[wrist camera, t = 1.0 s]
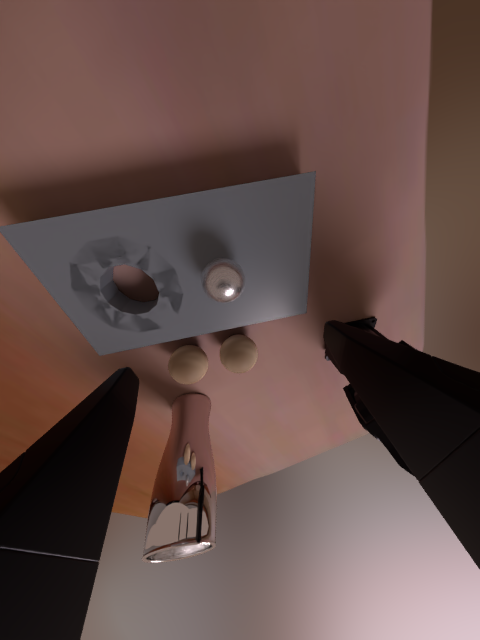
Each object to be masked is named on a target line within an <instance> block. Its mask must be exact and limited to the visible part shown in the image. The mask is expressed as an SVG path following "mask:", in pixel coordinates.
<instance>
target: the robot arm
mask: <svg viewBox="0 0 480 640" xmlns="http://www.w3.org/2000/svg"><path fill="white" fill-rule="evenodd" d="M372 320H373V321H372ZM376 321H377V319H376V318H375V317H371V318H366V319H361V320H357V321H352V322H347V323H342V322H339V321H336V320H332V321H328V322H326V323H325V326H324V341H325V342H326V350H325V354H326V355H325V359H326V360H327V361H329V360H331V362H332V363H333V364H334V365H335V367H336V368H337V369H338V371H339V372H340V373H341V374H344V375H345V377H346V378H347V380H348V381H349V383H350V384H349V385H348V386H345V387H344V388H343V389H344V391H345V393H346V396H347V398H348V400H349V402H350V404H351V406H352V408H353V410H354V412H355V414H356V416H357V418H358V420H359V422H360V424H361V425H362V426H363V428H364V429H365V430H367V431H368V432H369V433H370V434H372V435H373V436H374V437H375V438H376V439H378V440H380V441H381V442H382V443H383V444H384V446H385V447H386V448H387V449H388V451H389V452H390V454H391V455H392V456H393V458H394V459H395V460H396V462H397V463H398V464H399V465H400V466H401V467H402V468H404V469H405V470H406V471H407V472H409V473H410V474H412V475H413V476H415V477H416V479H417V480H418V481H419V483H420V485H421V486H422V487H423V489H424V490H425V492H426V493H427V495H428V496H429V497H430V499H431V500H432V501H433V503H434V505H435V506H436V507H437V509H438V510H439V512H440V513H441V515H442V516H443V518H444V519H445V520H446V522H447V523H448V525H449V526H450V528H451V529H452V530H453V532H454V533H455V535H456V536H457V538H458V539H459V541H460V542H461V543H462V545H463V546H464V548H465V549H466V551H467V552H468V553H469V554H470V556H471V558H472V559H473V561H474V562H475V563H476V565H477V566H478V568H479V569H480V372H477V371H474V370H471V369H468V368H465V367H462V366H459V365H456V364H454V363H451V362H448V361H445V360H442V359H440V358H437V357H434V356H432V357H431V355H429V354H426V353H423V352H421V351H418V350H417V349H415V348H414V347H412V346H411V345H409V344H407V343H406V342H404V341H403V340H401V341H400V342H399V343H396V342H393V341H391V340H389V339H387V338H386V337H385V336H383V335H382V334H381V333H379V332H378V331H377V330H376V329H374V327H375V324H376ZM138 389H139V379H138V377H137V376H136V375H135V373H134V372H133V371H132V369H131V368H129V367H125V368H121V369H118V370H117V371H116V372H115V373H114V374H112V375H111V376H110V377H109V378H108V379H107V380H106V381H105V382H103V383H102V384H101V385H100V386H99V387H98V388H97V389H95V390H94V391H93V392H92V393H91V394H90V395H89V396H87V397H86V398H85V399H84V400H83V401H82V402H81V403H79V404H78V405H77V406H76V407H75V408H74V409H73V410H71V411H70V412H69V413H68V414H67V415H66V416H65V417H63V418H62V419H61V420H60V421H59V422H58V423H57V424H55V425H54V426H53V427H52V428H51V429H50V430H49V431H48V432H46V433H45V434H44V435H43V436H42V437H41V438H40V439H38V440H37V441H36V442H35V443H34V444H33V445H32V446H30V447H29V448H28V449H27V450H26V452H24V453H22V454H21V455H20V456H19V457H18V458H17V459H16V460H14V461H13V462H12V463H11V464H10V465H9V466H8V467H6V468H5V469H4V470H3V471H2V472H1V473H0V640H80V638H81V634H82V630H83V625H84V622H85V617H86V614H87V610H88V605H89V601H90V597H91V593H92V589H93V585H94V581H95V577H96V573H97V569H98V565H99V562H98V561H99V560H100V556H101V552H102V548H103V544H104V540H105V536H106V532H107V528H108V523H109V519H110V515H111V511H112V507H113V503H114V499H115V495H116V491H117V487H118V483H119V479H120V475H121V471H122V467H123V462H124V458H125V454H126V450H127V446H128V442H129V438H130V434H131V430H132V426H133V422H134V417H135V411H136V404H137V397H138Z"/></svg>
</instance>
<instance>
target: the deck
mask: <svg viewBox="0 0 480 640" xmlns="http://www.w3.org/2000/svg"><path fill="white" fill-rule="evenodd" d="M315 177H316V171H314V172H309V173H303V174H297V175H292V176H286V177H280V178H274V179H269V180H263V181H257V182H252V183H246V184H240V185H235V186H229V187H223V188H217V189H212V190H206V191H200V192H195V193H189V194H183V195H178V196H172V197H166V198H160V199H155V200H149V201H143V202H138V203H132V204H126V205H121V206H115V207H109V208H103V209H98V210H92V211H86V212H81V213H75V214H69V215H64V216H58V217H52V218H46V219H41V220H35V221H29V222H24V223H18V224H12V225H7V226H1V227H0V232H1V233H2V235H3V236H4V237H5V238H6V240H7V241H8V242H9V243H10V245H11V246H12V247H13V248H14V250H15V251H16V252H17V253H18V255H19V256H20V257H21V258H22V260H23V261H24V262H25V263H26V265H27V266H28V267H29V268H30V270H31V271H32V272H33V273H34V275H35V276H36V277H37V278H38V280H39V281H40V282H41V283H42V285H43V286H44V287H45V288H46V290H47V291H48V292H49V293H50V295H51V296H52V297H53V298H54V300H55V301H56V302H57V303H58V304H59V306H60V307H61V308H62V309H63V311H64V312H65V313H66V314H67V316H68V317H69V318H70V319H71V321H72V322H73V323H74V324H75V326H76V327H77V328H78V329H79V331H80V332H81V333H82V334H83V336H84V337H85V338H86V339H87V341H88V342H89V343H90V344H91V346H92V347H93V348H94V349H95V351H96V352H97V353H98V354H99V356H101V355H106V354H111V353H116V352H120V351H125V350H130V349H135V348H140V347H145V346H149V345H154V344H159V343H164V342H169V341H174V340H178V339H183V338H188V337H193V336H198V335H203V334H208V333H212V332H217V331H222V330H227V329H232V328H237V327H241V326H246V325H251V324H256V323H261V322H266V321H270V320H275V319H280V318H285V317H290V316H295V315H300V314H304V313H306V312H307V297H308V282H309V267H310V252H311V237H312V222H313V207H314V192H315ZM217 258H228V259H231V260H233V261H235V262H236V263H238V264H239V265H240V267H241V268H242V270H243V272H244V274H245V287H244V290H243V292H242V293H241V295H240V296H239V297H238V298H237V299H235V300H234V301H231V302H228V303H219V302H216V301H213V300H212V299H210V298H209V297H208V296H207V295H206V294H205V292H204V290H203V288H202V285H201V275H202V272H203V270H204V268H205V266H206V265H207V264H208V263H209V262H211V261H212V260H214V259H217ZM123 264H125V265H129V266H132V267H135V268H139V269H141V270H143V271H144V272H145V273H146V274H147V275H149V276H150V277H151V278H152V279H153V280H154V282H155V284H156V286H157V289H158V291H159V297H158V298H157V299H156V300H153V301H148V302H140V301H136V300H132V299H129V298H128V297H127V296H125V295H124V294H123V293H121V292H120V291H119V290H118V288H117V286H116V284H115V283H114V281H113V267H114V266H118V265H123Z"/></svg>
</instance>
